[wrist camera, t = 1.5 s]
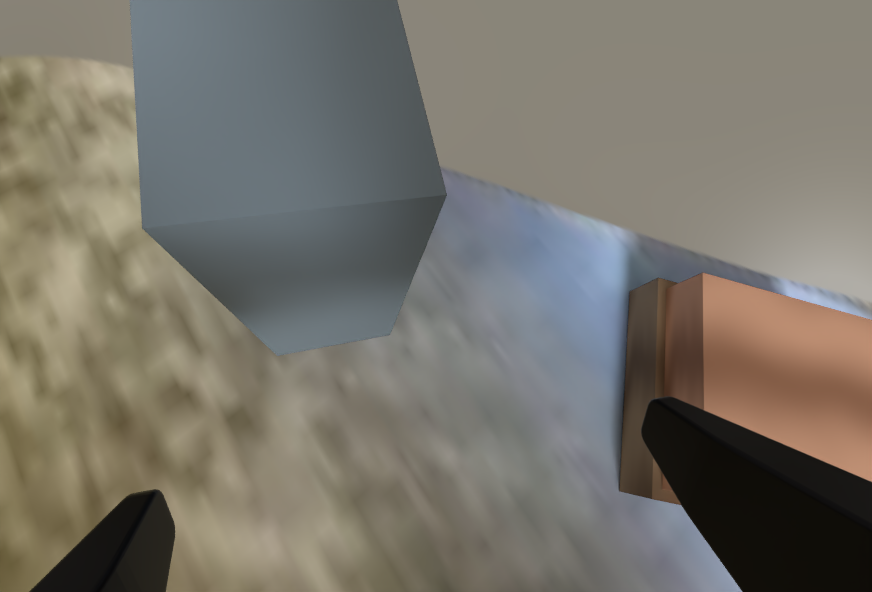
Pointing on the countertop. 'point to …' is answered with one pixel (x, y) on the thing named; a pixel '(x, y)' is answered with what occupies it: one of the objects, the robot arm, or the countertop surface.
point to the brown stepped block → (747, 371)
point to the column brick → (286, 160)
